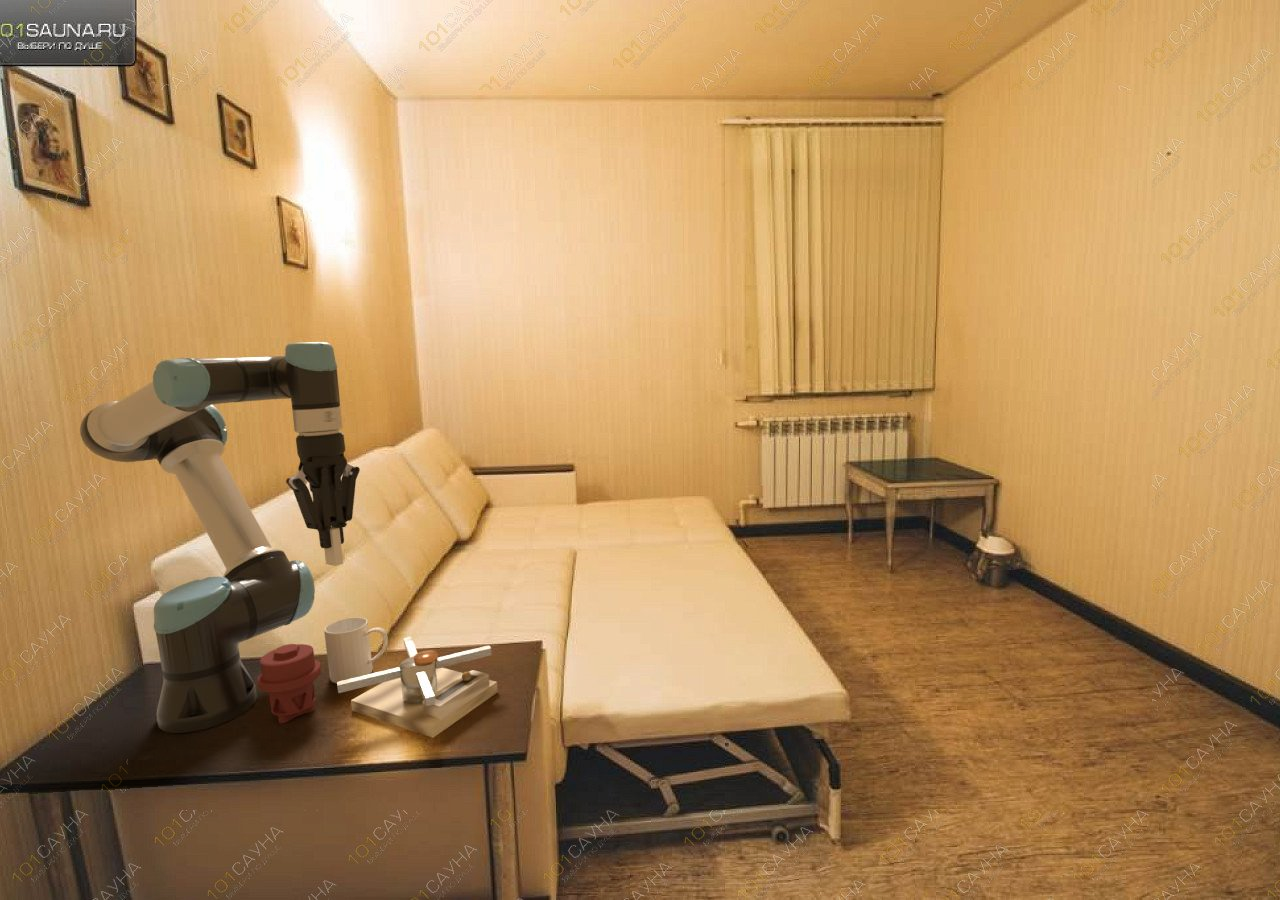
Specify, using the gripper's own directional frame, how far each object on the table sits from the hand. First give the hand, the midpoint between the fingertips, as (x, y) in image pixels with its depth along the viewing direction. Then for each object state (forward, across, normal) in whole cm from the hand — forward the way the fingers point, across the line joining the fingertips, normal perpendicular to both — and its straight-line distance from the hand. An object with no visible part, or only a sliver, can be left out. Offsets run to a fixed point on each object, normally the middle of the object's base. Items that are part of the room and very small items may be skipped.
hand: (334, 563), depth 115 cm
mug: (+27, +8, +7) cm, 29 cm away
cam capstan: (+24, +4, -14) cm, 28 cm away
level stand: (+26, +6, -13) cm, 30 cm away
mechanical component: (+27, -7, +6) cm, 28 cm away
